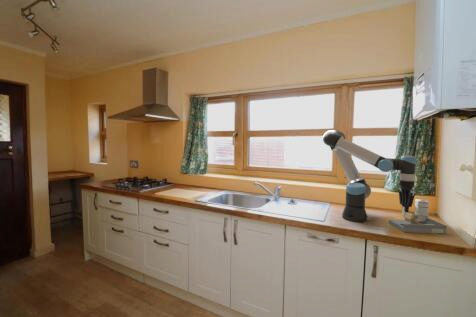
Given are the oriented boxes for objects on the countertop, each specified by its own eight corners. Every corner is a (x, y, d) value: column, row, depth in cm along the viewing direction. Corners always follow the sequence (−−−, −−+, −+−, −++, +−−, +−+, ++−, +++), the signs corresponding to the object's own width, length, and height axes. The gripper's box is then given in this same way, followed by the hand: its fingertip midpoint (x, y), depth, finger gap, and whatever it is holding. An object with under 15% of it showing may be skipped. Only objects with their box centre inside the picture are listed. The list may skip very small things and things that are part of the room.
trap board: (403, 232, 127) (404, 224, 127) (388, 223, 141) (388, 216, 141) (445, 233, 126) (446, 225, 126) (426, 224, 140) (426, 217, 140)
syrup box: (428, 224, 140) (429, 201, 139) (416, 223, 143) (418, 200, 142) (424, 221, 145) (426, 199, 145) (413, 220, 148) (415, 198, 147)
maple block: (410, 223, 135) (410, 215, 134) (404, 220, 140) (405, 212, 139) (418, 223, 134) (419, 215, 134) (412, 220, 139) (413, 212, 139)
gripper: (421, 182, 135) (418, 220, 136) (406, 178, 148) (404, 213, 149) (408, 181, 135) (406, 219, 137) (394, 178, 148) (392, 213, 150)
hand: (404, 216), depth 143 cm, fingers closed
